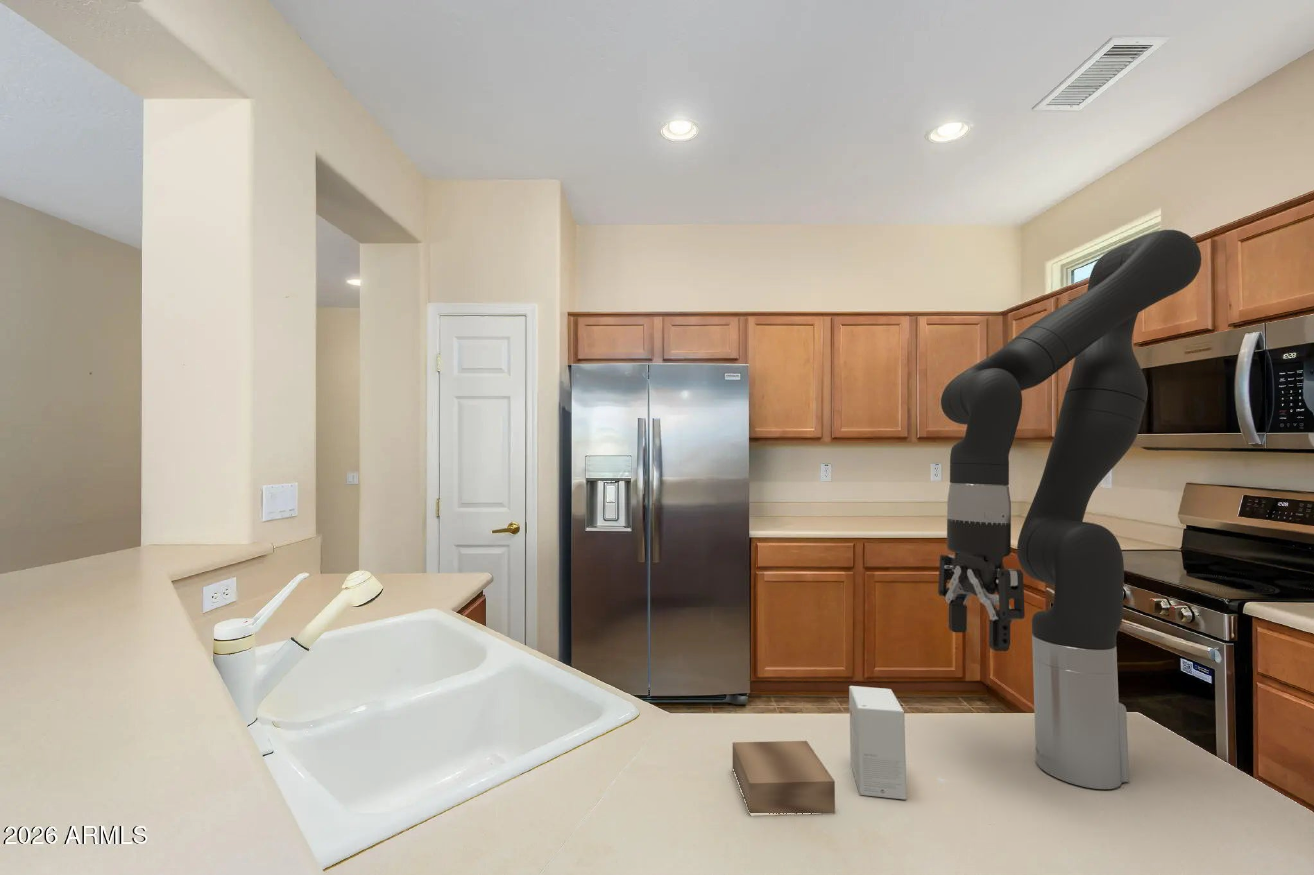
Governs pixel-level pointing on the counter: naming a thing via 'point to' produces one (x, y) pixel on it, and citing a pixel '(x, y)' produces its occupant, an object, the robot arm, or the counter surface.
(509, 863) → the counter surface
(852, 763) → the small box
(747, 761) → the walnut block
